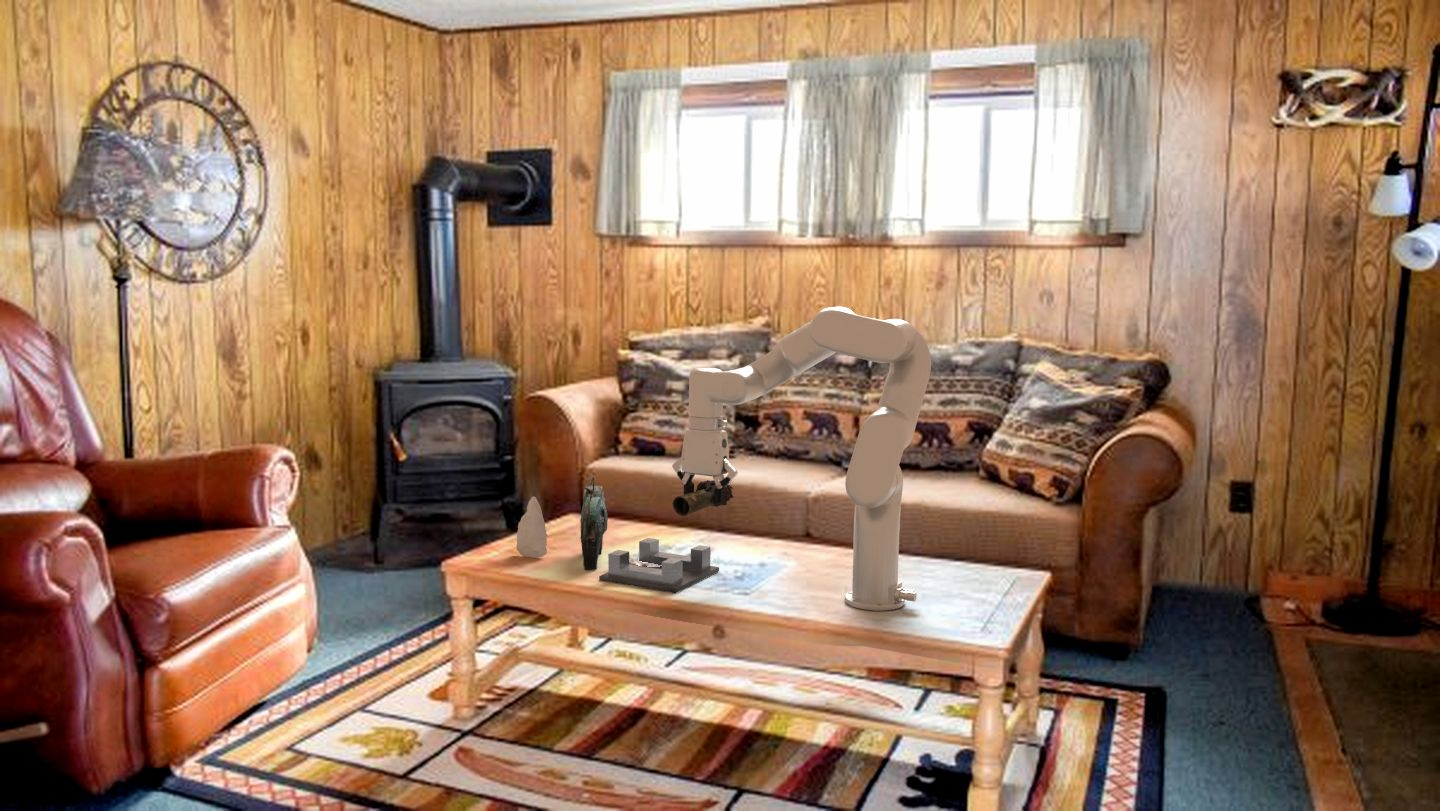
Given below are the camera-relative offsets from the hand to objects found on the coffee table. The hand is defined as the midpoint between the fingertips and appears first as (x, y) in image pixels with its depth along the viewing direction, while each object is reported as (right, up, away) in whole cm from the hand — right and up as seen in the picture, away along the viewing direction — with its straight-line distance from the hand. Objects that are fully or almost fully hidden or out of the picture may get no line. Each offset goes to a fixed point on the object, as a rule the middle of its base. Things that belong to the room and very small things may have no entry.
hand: (703, 502), depth 242 cm
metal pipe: (0, -2, 0) cm, 2 cm away
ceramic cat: (-27, -16, +21) cm, 38 cm away
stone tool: (-42, -15, +23) cm, 51 cm away
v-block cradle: (-10, -17, +8) cm, 22 cm away
